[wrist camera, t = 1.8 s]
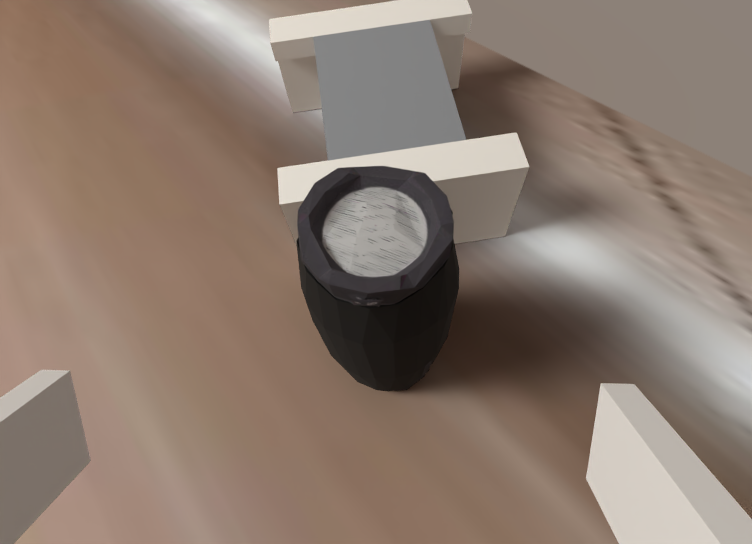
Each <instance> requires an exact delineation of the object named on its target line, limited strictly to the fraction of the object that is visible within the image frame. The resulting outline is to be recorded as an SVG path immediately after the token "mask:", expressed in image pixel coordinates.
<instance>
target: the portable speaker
mask: <svg viewBox="0 0 752 544" xmlns="http://www.w3.org/2000/svg"><path fill="white" fill-rule="evenodd" d="M452 215H453V212H452V210H451V208H450V205H449V201H448V198H447V196H446V195H445V193H444V192H443V191H442V190H441V189H440V188H439V187H438V186H437V185H436V184H435V183H434V182H433V181H432V180H431V179H430V178H429V177H428V175H427V174H426V173H423V172H417V171H411V170H405V169H399V168H393V167H388V166H365V167H344V168H337V169H336V170H334V171H332V172H331V173H329V174H328V175H326V176H325V177H323V178H322V179H320V180H318V181H317V182H315V183H314V185H313V187H312V188H311V190H310V191H309V193H308V195H307V196H306V198H305V199H304V201H303V202H302V204H301V206H300V207H299V209H298V219H297V228H298V239H297V241H296V242H297V252H298V261H299V270H300V279H301V288H302V291H303V294H304V297H305V300H306V303H307V305H308V308H309V311H310V314H311V317H312V320H313V322H314V324H315V326H316V328H317V330H318V331H319V333H320V335H321V337H322V339H323V341H324V343H325V345H326V347H327V348H328V350H329V352H330V354H331V356H332V357H333V358H334V359H335V360H336V361H337V362H338V363H339V364H340V365H341V366H342V367H343V368H344V369H345V370H346V371H347V372H348V373H349V374H350V375H351V376H352V377H353V378H354V379H355V380H356V381H357V382H359V383H362V384H364V385H366V386H369V387H371V388H373V389H376V390H381V391H392V390H394V391H397V390H407V389H408V388H409V387H411V386H412V385H413V384H415V383H416V382H417V381H419V380H420V379H421V378H423V377H424V376H425V374H426V373H427V372H428V371H429V367H430V365H431V364H432V363H433V361H434V360H435V358H436V356H437V354H438V353H439V351H440V349H441V347H442V346H443V344H444V342H445V340H446V339H447V336H448V332H449V328H450V324H451V319H452V315H453V311H454V306H455V302H456V298H457V293H458V289H459V266H458V260H457V255H456V250H455V244H454V239H453V233H454V220H453V216H452Z"/></svg>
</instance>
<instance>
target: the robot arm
mask: <svg viewBox="0 0 752 544" xmlns="http://www.w3.org/2000/svg"><path fill="white" fill-rule="evenodd" d="M90 461H91V460H90V455H89V451H88V447H87V442H86V438H85V434H84V429H83V425H82V421H81V416H80V412H79V408H78V403H77V399H76V395H75V390H74V386H73V381H72V377H71V373H70V371H66V370H40V371H39V372H37V373H36V374H34V375H33V376H31V377H30V378H29V379H27V380H26V381H24V382H23V383H21V384H20V385H18V386H17V387H15V388H14V389H12V390H11V391H9V392H8V393H6V394H5V395H4V396H2V397H1V398H0V544H14V543H15V542H16V541H17V540H18V539H19V538H20V536H21V535H22V534H23V533H24V532H25V531H26V530H27V529H28V528H29V527H30V526H31V525H32V524H33V523H34V521H35V520H36V519H37V518H38V517H39V516H40V515H41V514H42V513H43V512H44V511H45V510H46V509H47V507H48V506H49V505H50V504H51V503H52V502H53V501H54V500H55V499H56V498H57V497H58V496H59V495H60V493H61V492H62V491H63V490H64V489H65V488H66V487H67V486H68V485H69V484H70V483H71V482H72V481H73V480H74V478H75V477H76V476H77V475H78V474H79V473H80V472H81V471H82V470H83V469H84V468H85V467H86V466H87V464H88V463H89V462H90ZM586 479H587V481H588V483H589V485H590V487H591V489H592V491H593V493H594V495H595V497H596V499H597V501H598V503H599V505H600V507H601V509H602V511H603V513H604V515H605V517H606V519H607V521H608V523H609V525H610V527H611V529H612V531H613V533H614V535H615V537H616V539H617V541H618V543H619V544H752V519H751V518H750V517H749V515H748V514H747V513H746V512H745V511H744V510H743V509H742V507H741V506H740V505H739V504H738V503H737V502H736V500H735V499H734V498H733V497H732V496H731V495H730V494H729V492H728V491H727V490H726V489H725V488H724V487H723V486H722V484H721V483H720V482H719V481H718V480H717V479H716V478H715V476H714V475H713V474H712V473H711V472H710V471H709V469H708V468H707V467H706V466H705V465H704V464H703V463H702V461H701V460H700V459H699V458H698V457H697V456H696V455H695V453H694V452H693V451H692V450H691V449H690V448H689V446H688V445H687V444H686V443H685V442H684V441H683V440H682V438H681V437H680V436H679V435H678V434H677V433H676V432H675V430H674V429H673V428H672V427H671V426H670V425H669V424H668V422H667V421H666V420H665V419H664V418H663V417H662V415H661V414H660V413H659V412H658V411H657V410H656V409H655V407H654V406H653V405H652V404H651V403H650V402H649V401H648V399H647V398H646V397H645V396H644V395H643V394H642V392H641V391H640V390H639V389H638V388H637V387H636V386H635V384H611V383H601V385H600V392H599V398H598V405H597V411H596V418H595V424H594V431H593V437H592V444H591V450H590V457H589V463H588V470H587V476H586Z"/></svg>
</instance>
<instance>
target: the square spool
mask: <svg viewBox="0 0 752 544" xmlns="http://www.w3.org/2000/svg"><path fill="white" fill-rule="evenodd" d="M471 18H472V12H471V9H470V6H469V4H468V1H467V0H398V1H391V2H384V3H377V4H370V5H363V6H356V7H349V8H343V9H336V10H329V11H322V12H315V13H308V14H301V15H295V16H288V17H281V18H274V19H269V26H270V43H271V47H272V50H273V53H274V57H275V60H276V61H278V63H279V66H280V70H281V73H282V77H283V80H284V84H285V87H286V91H287V94H288V98H289V101H290V105H291V108H292V112H293V113H294V112H301V111H308V110H314V109H321V108H322V115H323V123H324V131H325V139H326V148H327V156H328V161H322V162H315V163H309V164H302V165H295V166H289V167H282V168H277V169H278V186H279V204H280V207H281V209H282V212H283V214H284V217H285V219H286V221H287V224H288V226H289V229H290V231H291V234H292V236H293V238H294V241H295V243H296V246H297V242H296V241H297V239H298V228H297V219H298V209H299V207H300V206H301V204H302V202H303V201H304V199H305V198H306V196H307V195H308V193H309V191H310V190H311V188H312V187H313V185H314V183H315V182H317V181H318V180H320V179H322V178H323V177H325V176H326V175H328V174H329V173H331V172H332V171H334V170H336V169H337V168H344V167H365V166H388V167H393V168H399V169H405V170H411V171H417V172H423V173H426V174H427V175H428V177H429V178H430V179H431V180H432V181H433V182H434V183H435V184H436V185H437V186H438V187H439V188H440V189H441V190H442V191H443V192H444V193H445V195H446V196H447V198H448V201H449V205H450V208H451V210H452V212H453V215H452V216H453V220H454V233H453V239H454V244H458V243H464V242H471V241H477V240H484V239H491V238H497V237H504V236H505V235H506V232H507V229H508V226H509V224H510V221H511V218H512V215H513V212H514V209H515V206H516V204H517V201H518V198H519V195H520V192H521V189H522V187H523V184H524V181H525V178H526V175H527V172H528V169H529V164H528V162H527V159H526V156H525V154H524V151H523V148H522V146H521V143H520V140H519V138H518V135H517V132H516V133H509V134H502V135H496V136H489V137H482V138H476V139H469V140H466V137H465V133H464V130H463V127H462V124H461V120H460V117H459V114H458V110H457V107H456V104H455V101H454V97H453V94H452V91H451V89H456V88H458V87H459V78H460V70H461V62H462V53H463V45H464V36H465V33H469V32H470V26H471Z"/></svg>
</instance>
